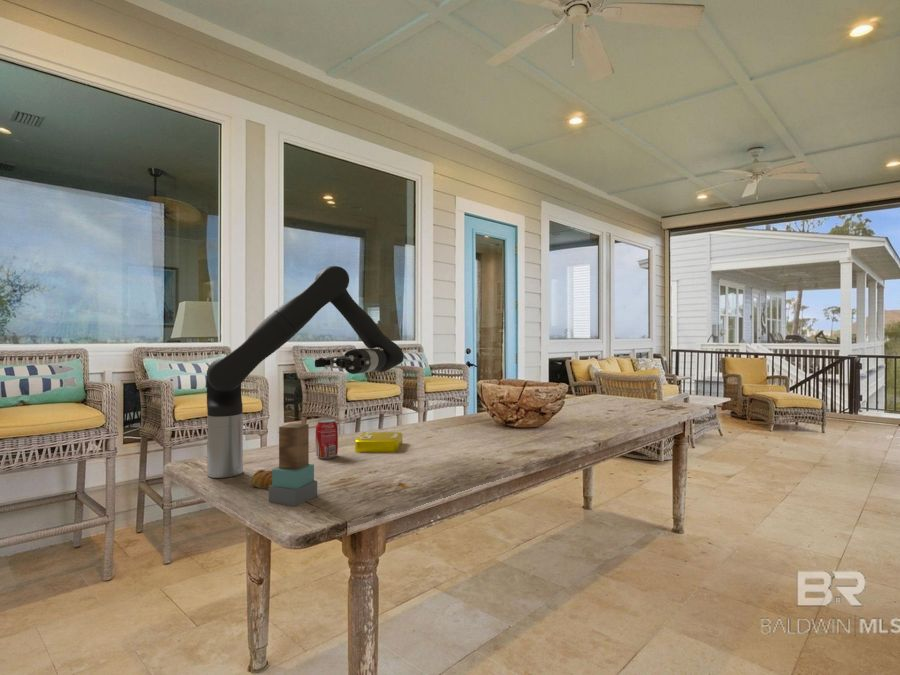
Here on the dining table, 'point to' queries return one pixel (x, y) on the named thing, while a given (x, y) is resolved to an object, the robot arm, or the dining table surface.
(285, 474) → the tower top slab
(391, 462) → the dining table surface
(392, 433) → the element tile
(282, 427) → the walnut pillar
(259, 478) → the pastry
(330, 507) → the dining table surface
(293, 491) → the tower base slab
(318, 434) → the soda can
